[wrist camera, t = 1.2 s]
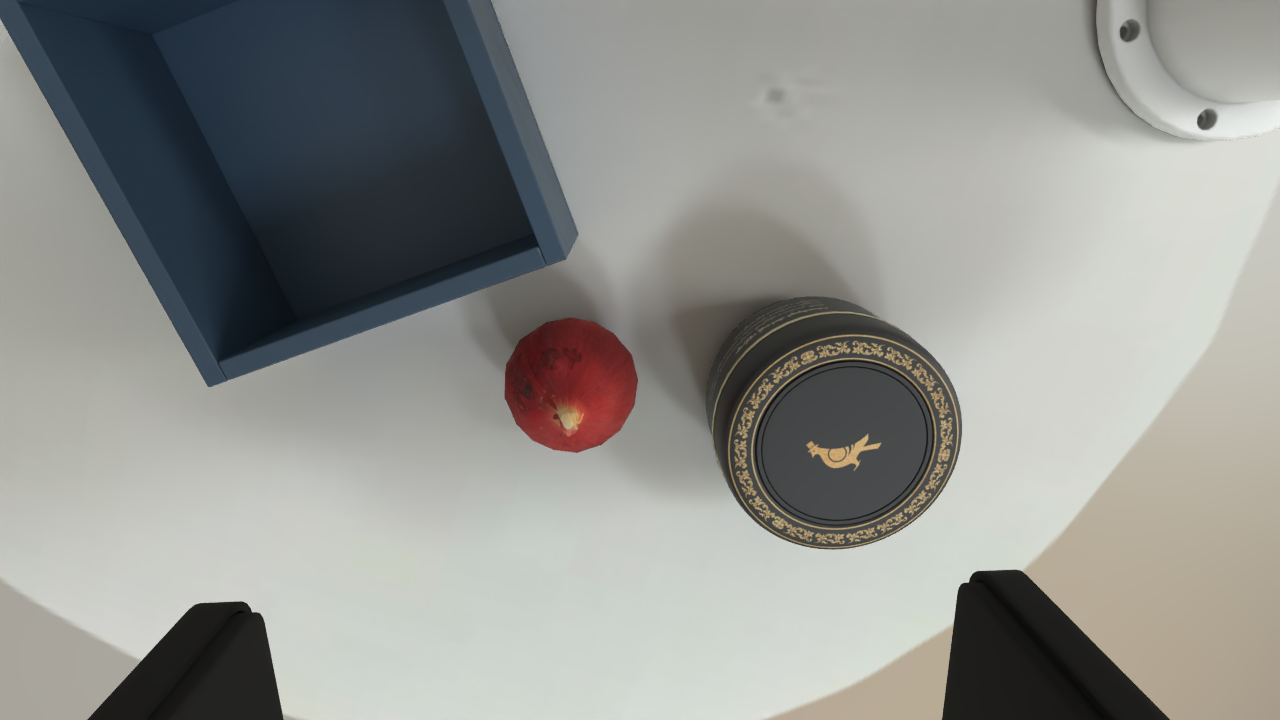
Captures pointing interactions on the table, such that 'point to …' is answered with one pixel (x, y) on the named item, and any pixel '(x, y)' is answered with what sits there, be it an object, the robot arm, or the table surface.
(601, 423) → the pomegranate
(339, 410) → the table surface
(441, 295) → the bin
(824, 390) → the jar
